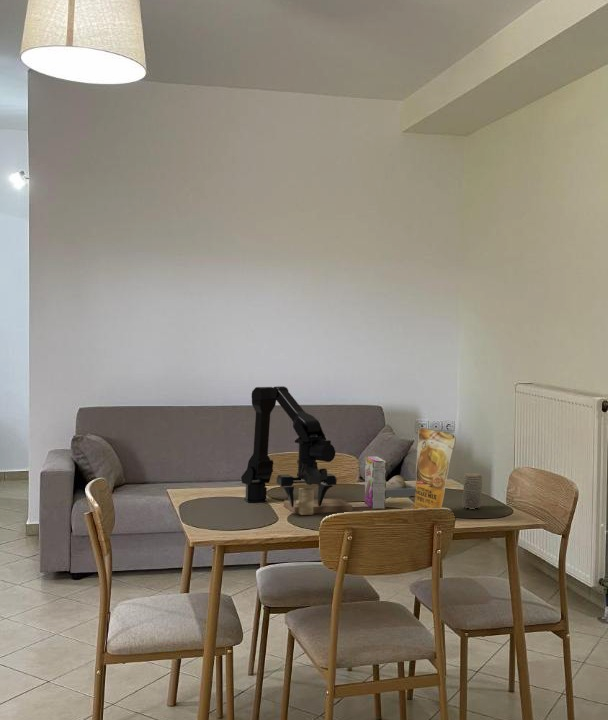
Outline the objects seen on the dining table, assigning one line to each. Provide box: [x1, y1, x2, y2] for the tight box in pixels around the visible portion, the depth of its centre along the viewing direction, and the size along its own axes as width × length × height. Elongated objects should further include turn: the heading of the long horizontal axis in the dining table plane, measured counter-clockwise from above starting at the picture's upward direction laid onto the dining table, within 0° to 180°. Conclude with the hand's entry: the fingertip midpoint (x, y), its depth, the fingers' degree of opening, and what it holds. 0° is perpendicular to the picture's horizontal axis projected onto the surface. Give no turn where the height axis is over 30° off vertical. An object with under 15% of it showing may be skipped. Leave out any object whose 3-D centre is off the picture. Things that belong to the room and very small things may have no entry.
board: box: [283, 498, 353, 515], centre depth 279 cm, size 20×12×2 cm, turn 109°
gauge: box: [295, 487, 315, 516], centre depth 272 cm, size 4×9×8 cm, turn 19°
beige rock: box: [386, 474, 407, 489], centre depth 309 cm, size 8×10×10 cm
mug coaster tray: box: [385, 483, 416, 498], centre depth 311 cm, size 15×14×3 cm
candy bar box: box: [364, 455, 387, 510], centre depth 286 cm, size 11×5×16 cm, turn 9°
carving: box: [461, 472, 483, 509], centre depth 287 cm, size 6×8×12 cm
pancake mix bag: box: [413, 427, 457, 510], centre depth 273 cm, size 7×19×28 cm, turn 23°
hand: (305, 506), depth 269 cm, fingers open, 9 cm apart
